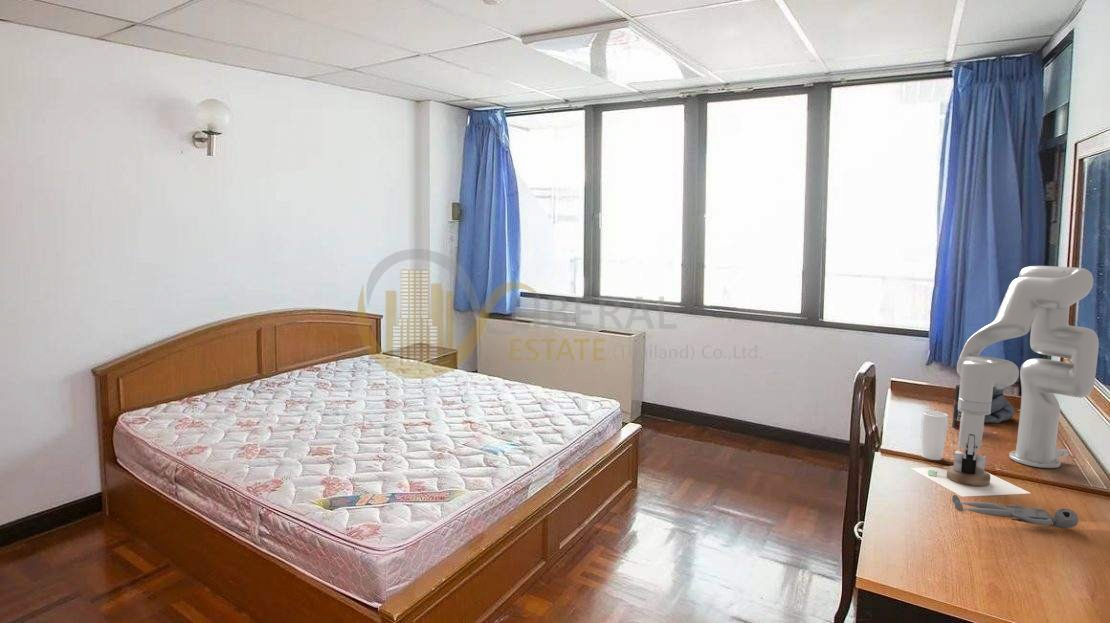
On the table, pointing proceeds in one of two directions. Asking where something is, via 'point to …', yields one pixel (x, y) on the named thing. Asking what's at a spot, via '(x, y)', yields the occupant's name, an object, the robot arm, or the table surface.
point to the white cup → (933, 434)
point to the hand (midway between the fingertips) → (968, 470)
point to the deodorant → (956, 410)
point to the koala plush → (999, 407)
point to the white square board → (994, 488)
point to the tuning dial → (964, 478)
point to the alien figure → (1023, 513)
